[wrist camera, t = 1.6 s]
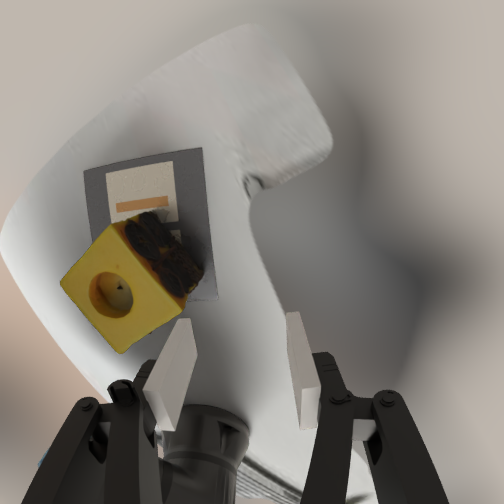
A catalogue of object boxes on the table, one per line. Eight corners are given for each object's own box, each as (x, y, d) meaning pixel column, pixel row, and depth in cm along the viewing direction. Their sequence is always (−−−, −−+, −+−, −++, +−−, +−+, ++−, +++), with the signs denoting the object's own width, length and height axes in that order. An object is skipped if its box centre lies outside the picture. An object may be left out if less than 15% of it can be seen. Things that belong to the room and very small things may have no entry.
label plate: (218, 299, 34) (218, 299, 34) (106, 302, 34) (106, 302, 34) (201, 148, 29) (201, 148, 29) (83, 171, 30) (83, 171, 30)
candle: (206, 273, 33) (187, 311, 23) (150, 316, 35) (121, 359, 25) (152, 206, 31) (112, 219, 21) (101, 257, 33) (57, 283, 23)
